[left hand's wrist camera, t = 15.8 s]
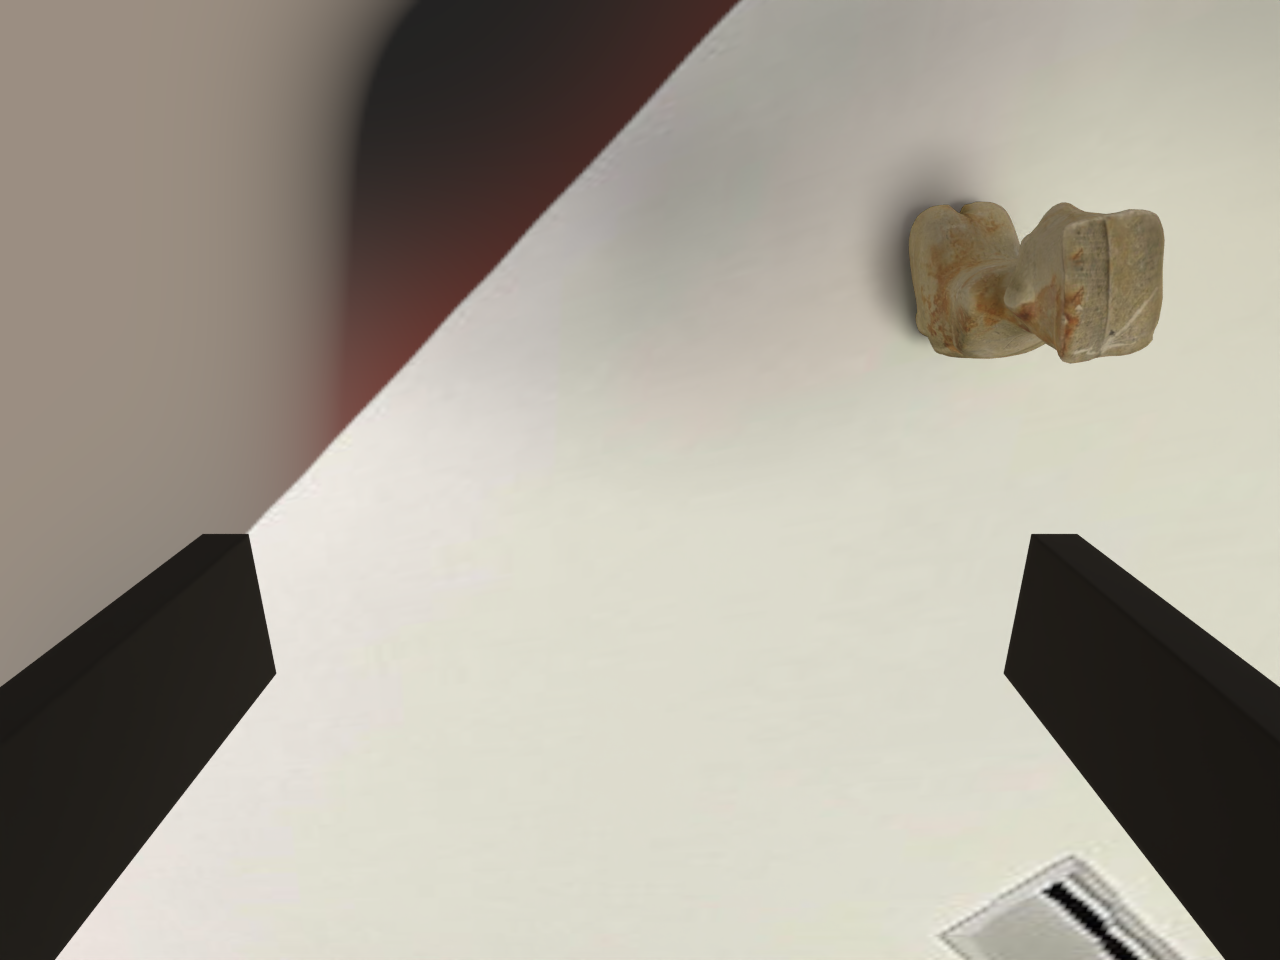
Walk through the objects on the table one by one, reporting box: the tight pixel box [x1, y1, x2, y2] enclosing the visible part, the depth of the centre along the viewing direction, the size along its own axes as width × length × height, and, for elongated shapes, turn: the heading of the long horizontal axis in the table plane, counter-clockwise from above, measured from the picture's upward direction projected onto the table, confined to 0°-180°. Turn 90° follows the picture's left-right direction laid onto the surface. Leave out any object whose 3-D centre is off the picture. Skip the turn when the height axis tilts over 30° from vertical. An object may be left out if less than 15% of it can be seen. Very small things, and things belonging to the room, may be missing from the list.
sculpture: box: [909, 202, 1164, 363], centre depth 32 cm, size 6×7×15 cm
